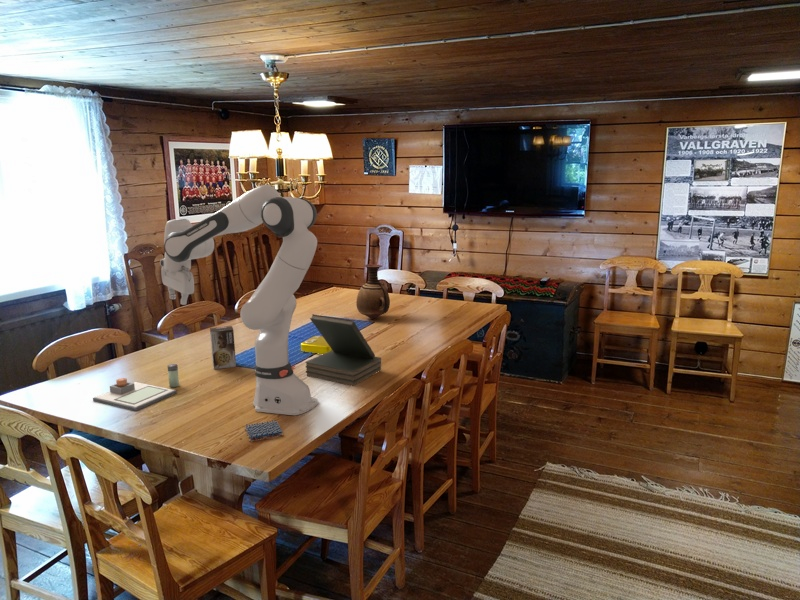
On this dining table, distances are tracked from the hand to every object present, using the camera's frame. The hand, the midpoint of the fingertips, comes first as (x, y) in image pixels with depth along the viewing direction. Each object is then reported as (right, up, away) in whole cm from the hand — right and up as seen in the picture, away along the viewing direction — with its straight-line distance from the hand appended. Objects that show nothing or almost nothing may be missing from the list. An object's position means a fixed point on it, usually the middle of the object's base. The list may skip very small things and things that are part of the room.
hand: (178, 301), depth 208 cm
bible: (+58, -29, +21) cm, 69 cm away
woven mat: (+39, -41, -31) cm, 64 cm away
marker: (-4, -32, +8) cm, 33 cm away
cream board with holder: (-14, -34, -3) cm, 37 cm away
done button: (-20, -30, -1) cm, 36 cm away
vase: (+66, -10, +108) cm, 127 cm away
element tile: (+45, -22, +53) cm, 73 cm away
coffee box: (+8, -27, +30) cm, 41 cm away
